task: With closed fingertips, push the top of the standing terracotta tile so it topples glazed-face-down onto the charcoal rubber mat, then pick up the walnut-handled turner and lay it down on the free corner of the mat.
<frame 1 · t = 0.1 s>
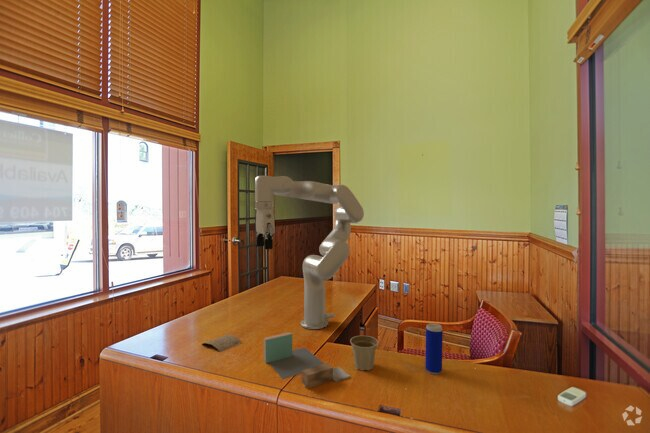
hand: (264, 247, 129), 37 cm above the table, tool pointing down, fingers open, 9 cm apart
flower pot: (363, 366, 106), on the table
turner: (317, 381, 96), on the table
clay tablet: (222, 346, 121), on the table
mat: (294, 362, 108), on the table
beverage can: (433, 371, 103), on the table
tile: (278, 358, 110), resting on mat
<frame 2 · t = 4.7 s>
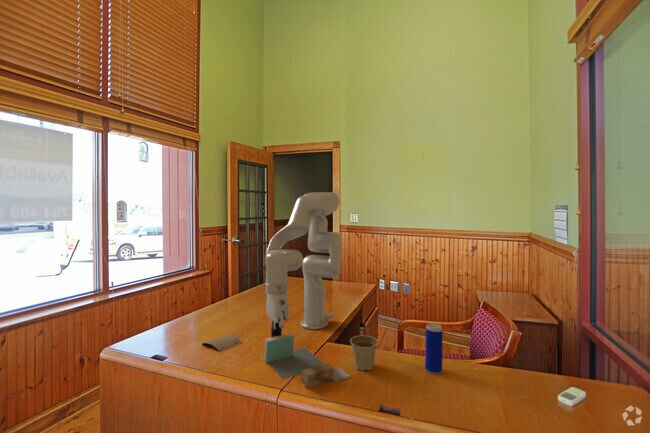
hand: (276, 339, 111), 7 cm above the table, tool pointing down, fingers closed
tile: (278, 357, 110), point 1 cm above the table, tilted 10°, touching mat
everything else where it was.
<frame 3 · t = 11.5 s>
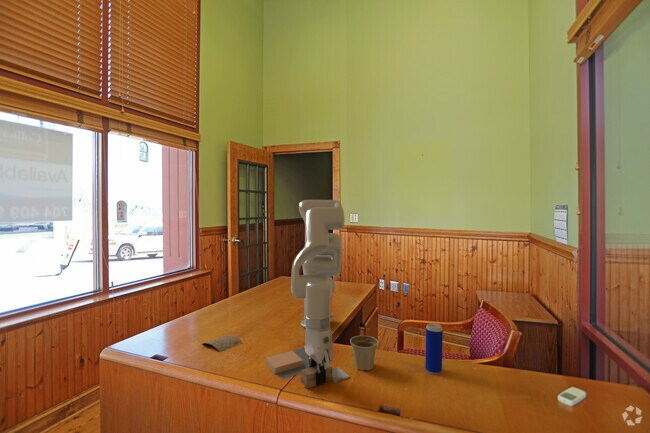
hand: (317, 380, 96), 0 cm above the table, tool pointing down, fingers closed on turner, 3 cm apart
turner: (316, 381, 96), on the table, touching gripper
tile: (279, 356, 109), point 1 cm above the table, tilted 90°, touching mat
everything else where it was.
when the fingers open (3 cm above the table, at t = 16.2 s): turner stays where it is, resting on mat.
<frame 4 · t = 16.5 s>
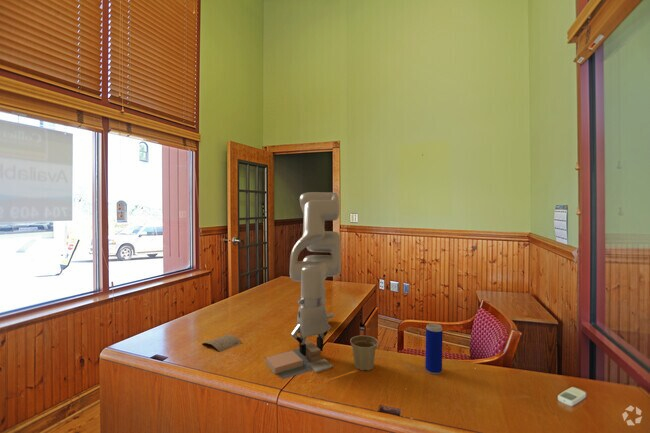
hand: (311, 351, 110), 3 cm above the table, tool pointing down, fingers open, 6 cm apart
turner: (310, 357, 111), resting on mat
everything else where it was.
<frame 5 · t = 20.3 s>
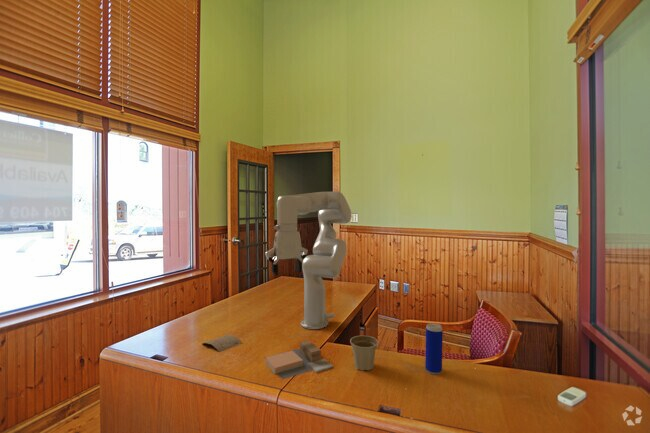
hand: (287, 273, 119), 28 cm above the table, tool pointing down, fingers open, 9 cm apart
nothing on the table moved.
at the end: tile tilted 90°; tile inside the target area on the mat (5.2 cm from its centre), point 1.4 cm above the mat's base; turner inside the target area on the mat (2.2 cm from its centre), point 0.4 cm above the mat's base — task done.
